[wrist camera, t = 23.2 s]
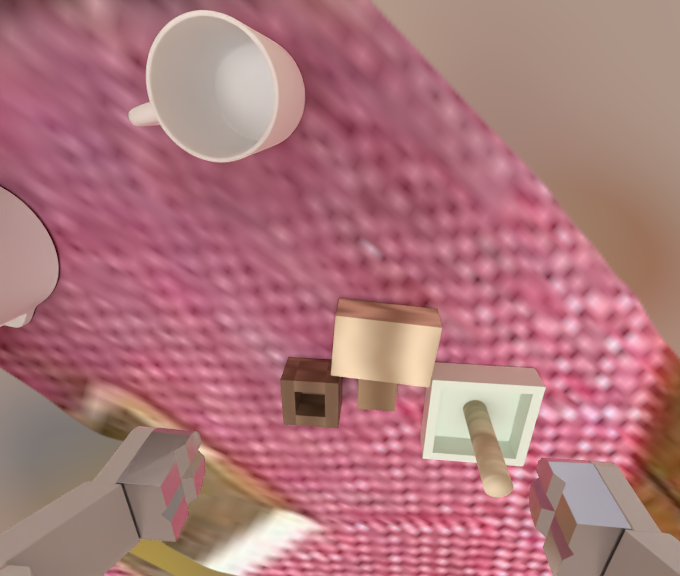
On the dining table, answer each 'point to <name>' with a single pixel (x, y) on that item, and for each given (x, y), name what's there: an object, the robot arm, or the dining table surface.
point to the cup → (220, 87)
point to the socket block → (311, 393)
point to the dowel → (487, 450)
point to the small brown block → (376, 395)
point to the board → (385, 342)
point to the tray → (500, 400)
